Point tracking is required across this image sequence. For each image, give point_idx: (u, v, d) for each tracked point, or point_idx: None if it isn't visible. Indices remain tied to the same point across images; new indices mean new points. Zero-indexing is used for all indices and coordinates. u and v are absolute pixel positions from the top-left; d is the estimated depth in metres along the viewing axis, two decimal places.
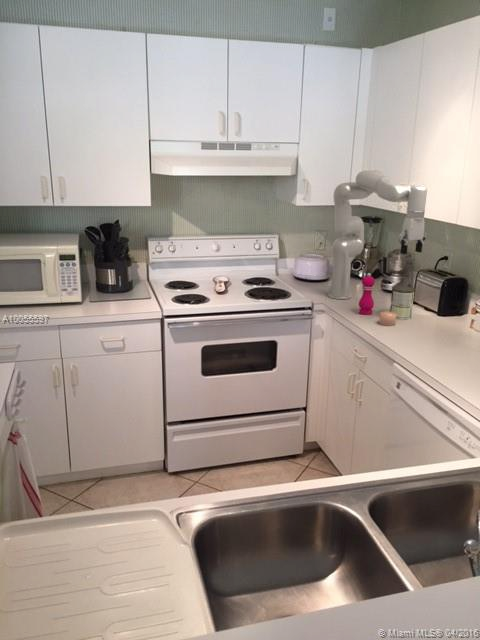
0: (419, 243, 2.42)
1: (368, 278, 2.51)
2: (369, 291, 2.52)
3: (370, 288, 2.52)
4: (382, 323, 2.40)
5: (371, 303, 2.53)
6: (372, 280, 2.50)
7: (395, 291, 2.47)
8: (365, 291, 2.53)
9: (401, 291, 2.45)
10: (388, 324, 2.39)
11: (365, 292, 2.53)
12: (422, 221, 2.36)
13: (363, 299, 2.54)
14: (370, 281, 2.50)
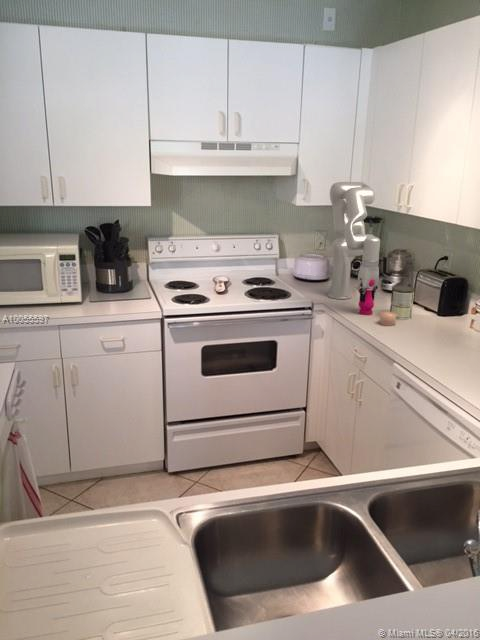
0: None
1: None
2: (369, 291, 2.52)
3: (370, 288, 2.52)
4: (382, 323, 2.40)
5: (371, 303, 2.53)
6: (372, 280, 2.50)
7: (395, 291, 2.47)
8: (365, 291, 2.53)
9: (401, 291, 2.45)
10: (388, 324, 2.39)
11: (365, 292, 2.53)
12: (376, 269, 2.51)
13: None
14: (370, 281, 2.50)
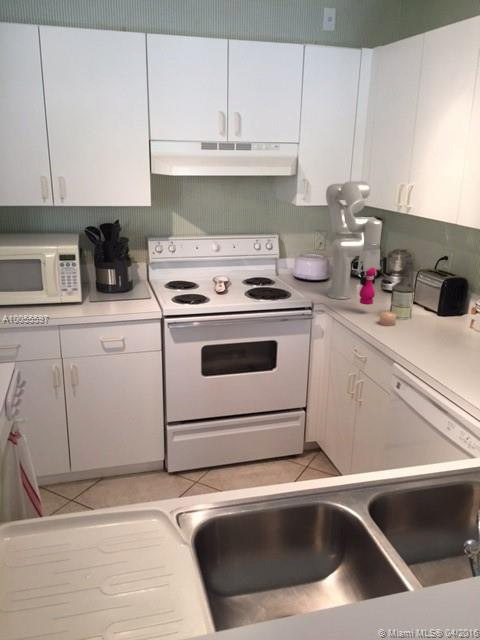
0: None
1: None
2: (370, 280, 2.51)
3: (371, 277, 2.51)
4: (382, 323, 2.40)
5: (372, 292, 2.52)
6: (373, 269, 2.49)
7: (395, 291, 2.47)
8: (366, 280, 2.52)
9: (401, 291, 2.45)
10: (388, 324, 2.39)
11: (366, 281, 2.52)
12: (378, 253, 2.48)
13: (364, 288, 2.53)
14: (371, 270, 2.49)
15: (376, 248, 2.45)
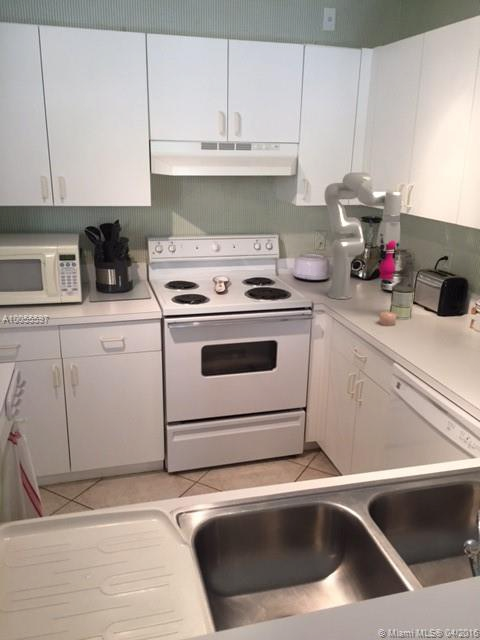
0: None
1: None
2: (390, 254, 2.44)
3: (391, 251, 2.44)
4: (382, 323, 2.40)
5: (392, 267, 2.45)
6: (393, 242, 2.43)
7: (395, 291, 2.47)
8: (386, 254, 2.45)
9: (401, 291, 2.45)
10: (388, 324, 2.39)
11: (386, 255, 2.45)
12: (398, 225, 2.42)
13: (383, 263, 2.46)
14: (391, 243, 2.42)
15: (396, 220, 2.39)
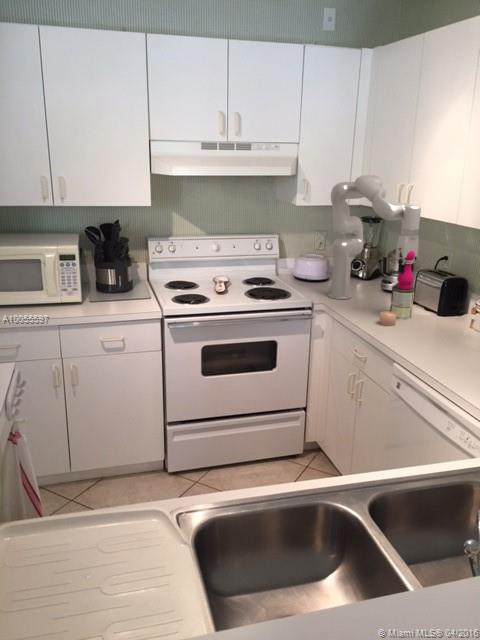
0: None
1: None
2: (409, 265, 2.43)
3: (410, 261, 2.43)
4: (382, 323, 2.40)
5: (411, 277, 2.44)
6: (412, 253, 2.41)
7: (395, 291, 2.47)
8: (405, 265, 2.44)
9: (401, 291, 2.45)
10: (388, 324, 2.39)
11: (405, 266, 2.44)
12: (416, 239, 2.42)
13: (402, 273, 2.45)
14: (410, 254, 2.41)
15: (415, 234, 2.38)
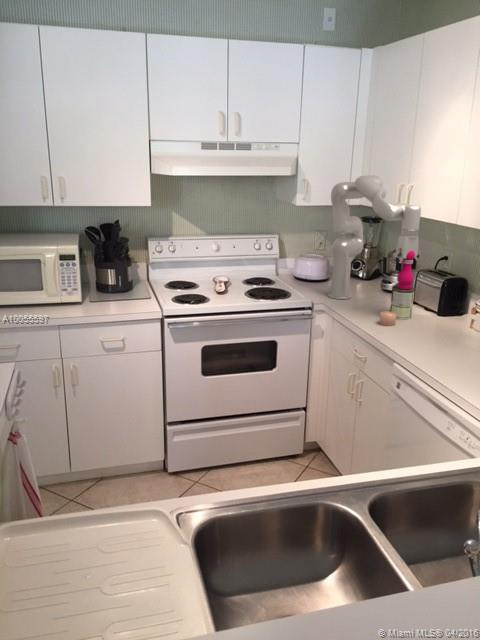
0: (413, 260, 2.48)
1: None
2: (409, 265, 2.43)
3: (410, 261, 2.43)
4: (382, 323, 2.40)
5: (411, 277, 2.44)
6: (412, 253, 2.41)
7: (395, 291, 2.47)
8: (405, 265, 2.44)
9: (401, 291, 2.45)
10: (388, 324, 2.39)
11: (405, 266, 2.44)
12: (416, 239, 2.42)
13: (402, 273, 2.45)
14: (410, 254, 2.41)
15: (415, 234, 2.38)
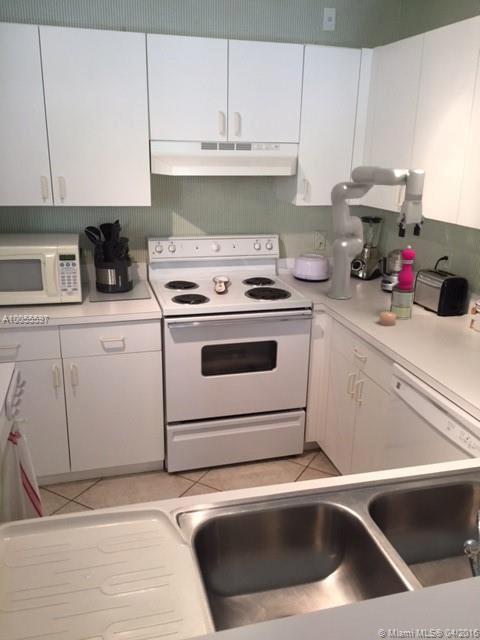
0: (417, 227, 2.43)
1: (408, 251, 2.42)
2: (409, 265, 2.43)
3: (410, 261, 2.43)
4: (382, 323, 2.40)
5: (411, 277, 2.44)
6: (412, 253, 2.41)
7: (395, 291, 2.47)
8: (405, 265, 2.44)
9: (401, 291, 2.45)
10: (388, 324, 2.39)
11: (405, 266, 2.44)
12: (420, 204, 2.37)
13: (402, 273, 2.45)
14: (410, 254, 2.41)
15: (419, 199, 2.34)
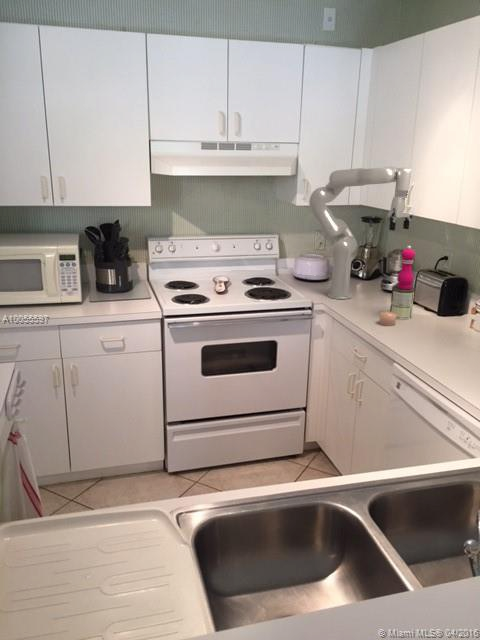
0: (406, 220, 2.64)
1: (408, 251, 2.42)
2: (409, 265, 2.43)
3: (410, 261, 2.43)
4: (382, 323, 2.40)
5: (411, 277, 2.44)
6: (412, 253, 2.41)
7: (395, 291, 2.47)
8: (405, 265, 2.44)
9: (401, 291, 2.45)
10: (388, 324, 2.39)
11: (405, 266, 2.44)
12: None
13: (402, 273, 2.45)
14: (410, 254, 2.41)
15: None
